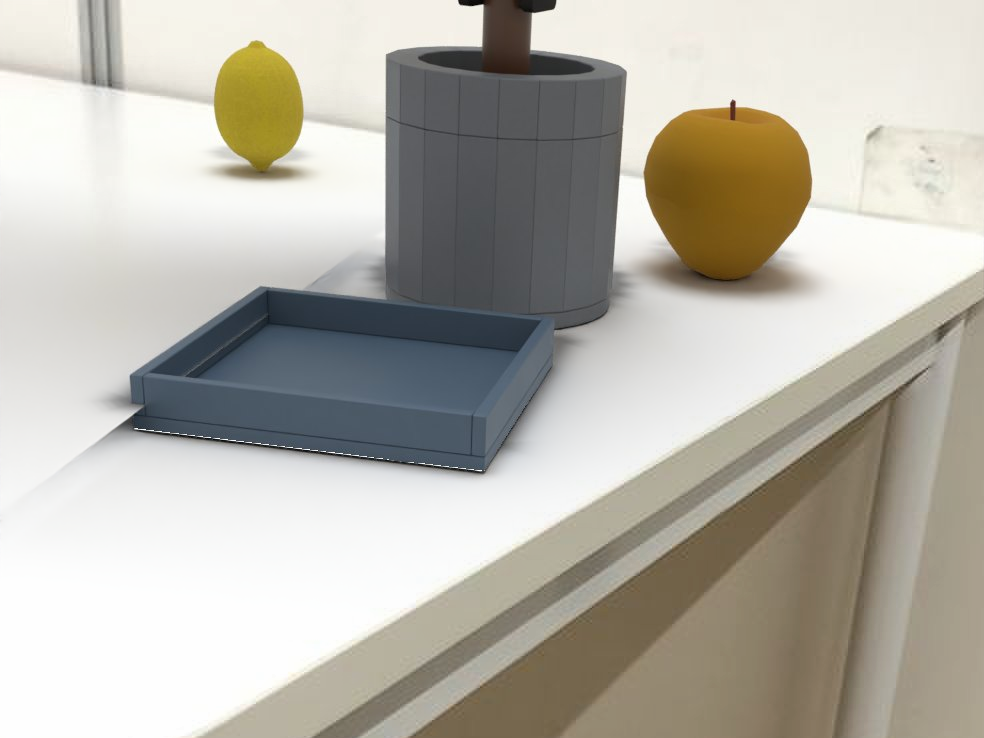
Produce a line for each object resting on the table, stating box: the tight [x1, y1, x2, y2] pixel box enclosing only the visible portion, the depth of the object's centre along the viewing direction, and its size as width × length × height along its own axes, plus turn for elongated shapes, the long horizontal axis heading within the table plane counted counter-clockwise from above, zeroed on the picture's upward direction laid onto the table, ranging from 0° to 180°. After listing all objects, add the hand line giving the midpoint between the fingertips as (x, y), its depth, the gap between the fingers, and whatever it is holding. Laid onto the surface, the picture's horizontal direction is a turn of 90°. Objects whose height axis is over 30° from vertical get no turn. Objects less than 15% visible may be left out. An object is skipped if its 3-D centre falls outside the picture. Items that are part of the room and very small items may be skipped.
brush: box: [481, 0, 533, 75], centre depth 68 cm, size 5×5×15 cm
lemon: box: [213, 39, 304, 172], centre depth 95 cm, size 6×6×8 cm
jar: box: [384, 45, 628, 330], centre depth 71 cm, size 11×11×11 cm
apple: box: [643, 99, 813, 281], centre depth 79 cm, size 9×9×9 cm
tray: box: [129, 285, 555, 471], centre depth 59 cm, size 13×13×2 cm
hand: (507, 3), depth 67 cm, fingers closed on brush
